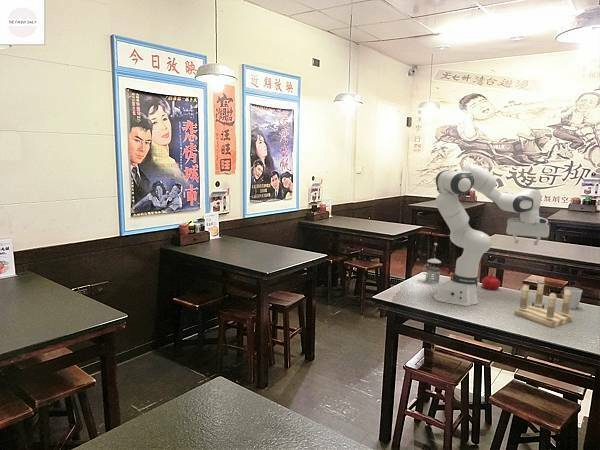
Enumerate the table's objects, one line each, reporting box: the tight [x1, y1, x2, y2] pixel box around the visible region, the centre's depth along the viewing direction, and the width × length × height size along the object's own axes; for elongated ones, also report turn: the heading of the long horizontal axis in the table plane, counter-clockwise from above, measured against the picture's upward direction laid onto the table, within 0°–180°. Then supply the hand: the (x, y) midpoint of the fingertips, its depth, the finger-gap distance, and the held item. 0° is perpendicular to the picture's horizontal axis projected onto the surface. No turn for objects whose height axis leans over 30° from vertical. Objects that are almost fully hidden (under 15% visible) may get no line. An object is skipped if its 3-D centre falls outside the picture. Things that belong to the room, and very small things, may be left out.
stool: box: [513, 284, 574, 329], centre depth 203 cm, size 18×18×16 cm
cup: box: [563, 286, 583, 310], centre depth 220 cm, size 8×8×10 cm
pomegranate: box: [481, 272, 501, 291], centre depth 249 cm, size 10×10×9 cm
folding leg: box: [534, 280, 546, 305], centre depth 211 cm, size 3×3×12 cm
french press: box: [422, 242, 442, 287], centre depth 254 cm, size 10×12×25 cm
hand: (525, 244), depth 226 cm, fingers open, 8 cm apart
